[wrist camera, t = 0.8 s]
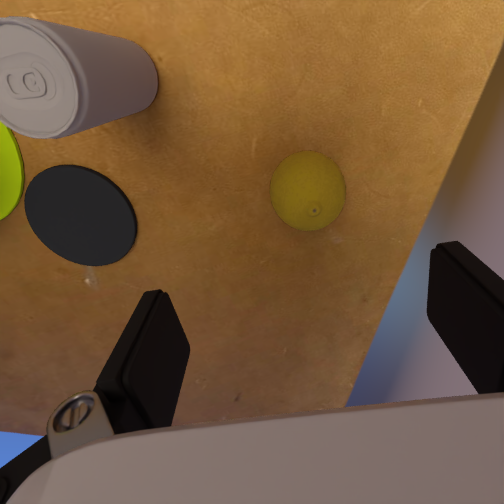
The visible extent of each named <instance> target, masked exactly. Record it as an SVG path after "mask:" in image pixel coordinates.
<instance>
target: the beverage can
mask: <svg viewBox="0 0 504 504" xmlns="http://www.w3.org/2000/svg"><path fill="white" fill-rule="evenodd" d="M157 87H158V78H157V72H156V69H155V66H154V64H153V62H152V60H151V58H150V57H149V55H148V54H147V53H146V52H145V51H144V50H143V48H142V47H140V46H139V45H137V44H136V43H134V42H133V41H130V40H127V39H124V38H119V37H115V36H110V35H106V34H101V33H97V32H92V31H88V30H83V29H79V28H74V27H70V26H65V25H60V24H56V23H51V22H47V21H42V20H38V19H33V18H29V17H13V16H9V17H6V18H0V122H2V123H3V124H4V125H5V126H6V127H8V128H10V129H12V130H14V131H15V132H17V133H19V134H22V135H25V136H28V137H31V138H41V139H48V138H53V139H57V138H61V137H65V136H69V135H72V134H75V133H78V132H81V131H84V130H87V129H90V128H93V127H96V126H99V125H102V124H105V123H108V122H110V121H113V120H116V119H119V118H122V117H125V116H128V115H131V114H134V113H137V112H140V111H142V110H144V109H145V108H147V107H148V106H149V105H150V104H151V103H152V102H153V100H154V98H155V96H156V93H157Z"/></svg>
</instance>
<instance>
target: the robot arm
mask: <svg viewBox="0 0 504 504" xmlns="http://www.w3.org/2000/svg"><path fill="white" fill-rule="evenodd" d="M427 316H428V319H429V321H430V322H431V324H432V325H433V327H434V328H435V330H436V331H437V333H438V334H439V336H440V337H441V339H442V340H443V342H444V343H445V345H446V346H447V348H448V349H449V351H450V352H451V354H452V355H453V357H454V358H455V360H456V361H457V363H458V364H459V366H460V367H461V369H462V370H463V371H464V373H465V374H466V376H467V377H468V379H469V380H470V382H471V383H472V385H473V386H474V388H475V389H476V391H477V392H478V394H477V395H465V396H453V397H443V398H432V399H422V400H413V401H402V402H393V403H382V404H372V405H362V406H354V407H353V406H352V407H343V408H333V409H324V410H314V411H304V412H295V413H286V414H276V415H267V416H258V417H249V418H240V419H231V420H222V421H213V422H204V423H195V424H186V425H178V426H171V424H172V420H173V416H174V413H175V409H176V405H177V401H178V397H179V393H180V389H181V386H182V382H183V378H184V374H185V370H186V366H187V362H188V359H189V355H190V345H189V342H188V340H187V338H186V335H185V333H184V330H183V328H182V326H181V323H180V321H179V319H178V316H177V314H176V312H175V309H174V307H173V304H172V302H171V300H170V297H169V295H168V293H166V292H164V293H163V291H162V290H160V289H159V290H152V291H146V292H145V293H144V294H143V296H142V297H141V299H140V301H139V303H138V305H137V307H136V309H135V310H134V312H133V314H132V316H131V318H130V320H129V322H128V323H127V325H126V327H125V329H124V331H123V333H122V335H121V336H120V338H119V340H118V342H117V344H116V346H115V348H114V349H113V351H112V353H111V355H110V357H109V359H108V361H107V362H106V364H105V366H104V368H103V370H102V372H101V374H100V375H99V377H98V379H97V381H96V383H97V384H96V386H95V388H94V389H93V391H91V390H89V391H82V392H78V393H76V394H74V395H72V396H70V397H68V398H67V399H66V400H64V401H63V402H62V403H61V404H60V405H59V406H58V407H57V408H56V409H55V410H54V411H53V413H52V414H51V416H50V417H49V420H48V422H47V427H46V432H47V435H45V436H44V437H43V438H41V439H40V440H38V441H37V442H36V443H34V444H33V445H32V446H30V447H29V448H27V449H26V450H25V451H23V452H22V453H21V454H20V455H18V456H17V457H15V458H14V459H12V460H11V461H10V462H8V463H7V464H6V465H4V466H3V467H1V468H0V504H504V280H503V279H502V278H501V277H499V276H498V275H497V274H496V273H495V272H494V271H492V270H491V269H490V268H489V267H488V266H487V265H485V264H484V263H483V262H482V261H481V260H480V259H478V258H477V257H476V256H475V255H474V254H473V253H471V252H470V251H469V250H468V249H467V248H466V247H464V246H463V245H462V244H461V243H460V242H458V241H452V242H445V243H440V244H437V246H436V248H435V249H432V250H431V253H430V269H429V284H428V299H427Z"/></svg>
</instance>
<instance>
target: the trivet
mask: <svg viewBox="0 0 504 504" xmlns="http://www.w3.org/2000/svg"><path fill="white" fill-rule="evenodd" d="M24 202H25V212H26V216H27V219H28V221H29V224H30V226H31V228H32V229H33V231H34V233H35V234H36V235H37V237H38V238H39V239H40V240H41V241H42V242H43V243H44V244H45V245H46V246H47V247H48V248H49V249H50V250H52V251H53V252H54V253H56V254H58V255H59V256H61V257H63V258H65V259H67V260H69V261H72V262H74V263H78V264H82V265H87V266H102V265H107V264H111V263H113V262H116V261H118V260H119V259H121V258H122V257H123V256H124V255H126V254H127V252H128V251H129V250H130V248H131V247H132V245H133V243H134V241H135V238H136V233H137V222H136V216H135V213H134V210H133V208H132V205H131V203H130V202H129V200H128V198H127V197H126V196H125V194H124V193H123V192H122V191H121V189H120V188H119V187H118V186H117V185H116V184H114V183H113V182H112V181H111V180H109V179H108V178H107V177H105V176H104V175H102V174H100V173H98V172H96V171H94V170H92V169H89V168H86V167H82V166H77V165H59V166H54V167H51V168H49V169H46V170H44V171H42V172H41V173H39V174H38V175H37V176H35V177H34V178H33V180H32V181H31V182H30V184H29V186H28V188H27V190H26V194H25V200H24Z"/></svg>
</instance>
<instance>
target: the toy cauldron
mask: <svg viewBox="0 0 504 504" xmlns="http://www.w3.org/2000/svg"><path fill="white" fill-rule="evenodd" d="M24 178H25V177H24V167H23V160H22V157H21V153H20V150H19V146H18V143H17V141H16V139H15V137H14V135H13V133H12V131H11V129H10V128H8V127H6V126H5V125H4V124H3V123H2V122H0V220H2V219H3V218H5V217H6V216H8V215H9V214H10V213H11V212H12V211H13V210H14V208H15V207H16V206H17V205H18V203H19V200H20V198H21V195H22V193H23V186H24Z"/></svg>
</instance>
